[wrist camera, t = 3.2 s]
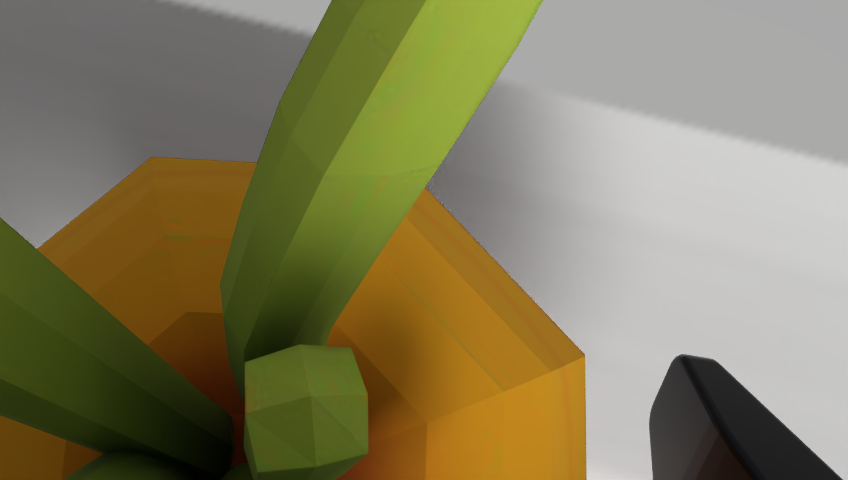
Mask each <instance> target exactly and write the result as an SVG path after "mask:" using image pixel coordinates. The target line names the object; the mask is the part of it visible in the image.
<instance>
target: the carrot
mask: <svg viewBox="0 0 848 480" xmlns="http://www.w3.org/2000/svg"><path fill="white" fill-rule="evenodd" d="M542 1H543V0H332V1H331V3H330V5H329V7H328V9H327V11H326V13H325V15H324V17H323V19H322V21H321V22H320V24H319V26H318V28H317V30H316V32H315V34H314V36H313V38H312V40H311V42H310V44H309V46H308V48H307V50H306V52H305V54H304V55H303V57H302V59H301V61H300V63H299V65H298V67H297V69H296V71H295V73H294V75H293V77H292V79H291V81H290V83H289V85H288V87H287V88H286V90H285V92H284V94H283V96H282V98H281V100H280V102H279V105H278V108H277V110H276V113H275V116H274V118H273V121H272V124H271V127H270V129H269V132H268V135H267V138H266V140H265V143H264V146H263V148H262V151H261V154H260V157H259V159H258V162H257V163H255V162H236V161H217V160H199V159H180V158H162V157H151V158H150V159H149V160H147V161H146V162H145V163H144V164H142V165H141V166H140V167H139V168H137V169H136V170H135V171H134V172H132V173H131V174H130V175H129V176H127V177H126V178H125V179H124V180H122V181H121V182H120V183H119V184H117V185H116V186H115V187H114V188H112V189H111V190H110V191H109V192H107V193H106V194H105V195H104V196H103V197H101V198H100V199H99V200H98V201H96V202H95V203H94V204H93V205H91V206H90V207H89V208H88V209H86V210H85V211H84V212H83V213H81V214H80V215H79V216H78V217H76V218H75V219H74V220H73V221H71V222H70V223H69V224H68V225H66V226H65V227H64V228H63V229H61V230H60V231H59V232H58V233H56V234H55V235H54V236H53V237H51V238H50V239H49V240H48V241H46V242H45V243H44V244H43V245H42V246H40V247H39V248H38V249H36V248H35V247H34V246H32V245H31V244H30V243H29V242H28V241H27V240H26V239H24V238H23V237H22V236H21V235H20V234H19V233H18V232H16V231H15V230H14V229H13V228H12V227H11V226H9V225H8V224H7V223H6V222H5V221H4V220H3V219H1V218H0V480H586V401H585V355H584V353H583V352H582V351H581V350H580V349H579V348H578V347H577V346H576V345H575V344H574V343H573V342H572V341H571V340H570V339H569V338H568V336H567V335H566V334H565V333H564V332H563V331H562V330H561V329H560V328H559V327H558V326H557V325H556V324H555V323H554V322H553V321H552V320H551V319H550V318H549V316H548V315H547V314H546V313H545V312H544V311H543V310H542V309H541V308H540V307H539V306H538V305H537V304H536V303H535V302H534V301H533V300H532V299H531V298H530V297H529V295H528V294H527V293H526V292H525V291H524V290H523V289H522V288H521V287H520V286H519V285H518V284H517V283H516V282H515V281H514V280H513V279H512V278H511V277H510V275H509V274H508V273H507V272H506V271H505V270H504V269H503V268H502V267H501V266H500V265H499V264H498V263H497V262H496V261H495V260H494V259H493V258H492V257H491V256H490V254H489V253H488V252H487V251H486V250H485V249H484V248H483V247H482V246H481V245H480V244H479V243H478V242H477V241H476V240H475V239H474V238H473V237H472V236H471V234H470V233H469V232H468V231H467V230H466V229H465V228H464V227H463V226H462V225H461V224H460V223H459V222H458V221H457V220H456V219H455V218H454V217H453V216H452V214H451V213H450V212H449V211H448V210H447V209H446V208H445V207H444V206H443V205H442V204H441V203H440V202H439V201H438V200H437V199H436V198H435V197H434V196H433V195H432V193H431V192H430V191H429V190H428V189H427V188H426V185H427V184H428V182H429V181H430V179H431V178H432V176H433V175H434V173H435V172H436V170H437V169H438V168H439V166H440V165H441V163H442V162H443V160H444V158H445V157H446V155H447V154H448V152H449V151H450V149H451V148H452V146H453V145H454V143H455V142H456V140H457V139H458V137H459V135H460V134H461V132H462V131H463V129H464V128H465V126H466V125H467V123H468V122H469V120H470V119H471V117H472V116H473V114H474V112H475V111H476V109H477V108H478V106H479V105H480V103H481V102H482V100H483V99H484V97H485V96H486V94H487V93H488V91H489V89H490V88H491V86H492V85H493V83H494V82H495V80H496V79H497V77H498V76H499V74H500V73H501V71H502V69H503V68H504V66H505V65H506V63H507V62H508V60H509V59H510V57H511V56H512V54H513V53H514V51H515V49H516V48H517V46H518V45H519V43H520V41H521V39H522V37H523V35H524V33H525V32H526V30H527V28H528V26H529V25H530V23H531V21H532V19H533V17H534V15H535V14H536V12H537V10H538V8H539V6H540V5H541V3H542Z"/></svg>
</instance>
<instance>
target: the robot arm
mask: <svg viewBox="0 0 848 480" xmlns="http://www.w3.org/2000/svg"><path fill="white" fill-rule="evenodd" d="M649 430H650V444H651V458H652V471H653V480H843V479H842V478H841V477H839V476H838V475H837V474H836V473H835V472H834V471H833V470H832V469H831V468H830V467H829V466H828V465H827V464H826V463H825V462H823V461H822V460H821V459H820V458H819V457H818V456H817V455H816V454H815V453H814V452H813V451H812V450H811V449H810V448H809V447H808V446H806V445H805V444H804V443H803V442H802V441H801V440H800V439H799V438H798V437H797V436H796V435H795V434H794V433H793V432H792V431H790V430H789V429H788V428H787V427H786V426H785V425H784V424H783V423H782V422H781V421H780V420H779V419H778V418H777V417H776V416H774V415H773V414H772V413H771V412H770V411H769V410H768V409H767V408H766V407H765V406H764V405H763V404H762V403H761V402H760V401H758V400H757V399H756V398H755V397H754V396H753V395H752V394H751V393H750V392H749V391H748V390H747V389H746V388H745V387H744V386H743V385H741V384H740V383H739V382H738V381H737V380H736V379H735V378H734V377H733V376H732V375H731V374H730V373H729V372H728V371H727V370H725V369H724V368H723V367H722V366H721V365H720V364H719V363H718V362H717V361H715V360H713V359H710V358H704V357H698V356H692V355H686V354H681V355H679V356H677V357H676V358H675V359H674V360H673V361H672V363H671V365H670V367H669V369H668V371H667V374H666V376H665V378H664V380H663V383H662V385H661V387H660V389H659V392H658V394H657V396H656V398H655V401H654V403H653V406H652V409H651V413H650V420H649Z"/></svg>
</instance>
